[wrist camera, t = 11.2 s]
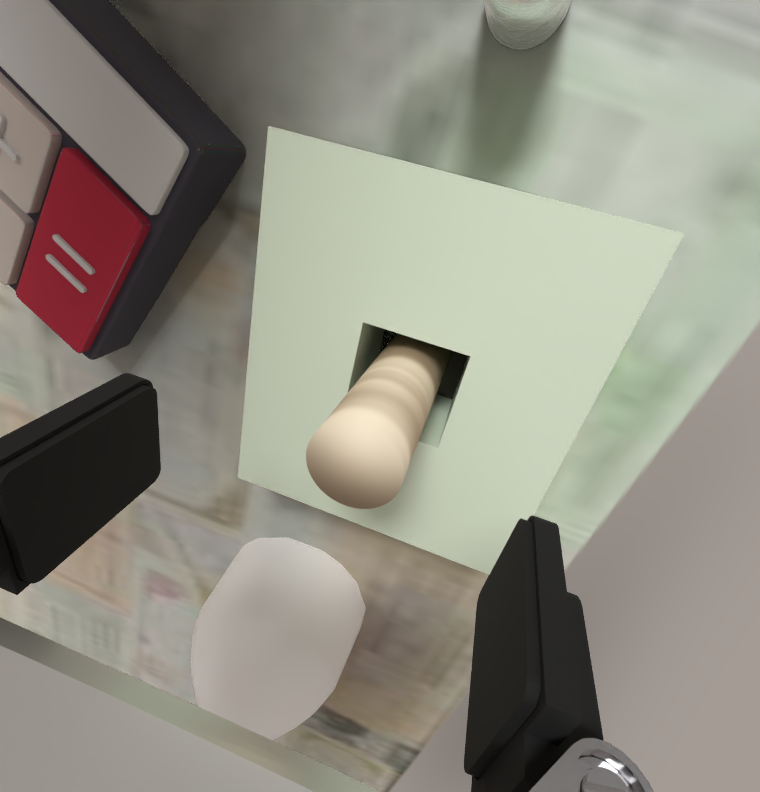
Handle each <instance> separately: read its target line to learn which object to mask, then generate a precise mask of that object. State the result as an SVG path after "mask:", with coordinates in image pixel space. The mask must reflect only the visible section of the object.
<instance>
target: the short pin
mask: <svg viewBox="0 0 760 792" xmlns="http://www.w3.org/2000/svg"><path fill="white" fill-rule="evenodd" d="M570 4H571V0H484V6H485V12H486V18H487V23H488V26H489V28H490V31H491V32H492V34H493V36H494V37H495V39H496V40H497V41H498V42H499V43H501V44H502V45H504V46H506V47H508V48H511V49H515V50H525V49H530V48H533V47H535V46H538V45H540V44H541V43H543V42H544V41H546V40H547V39H548V38H549V37H551V36H552V35H553V33H554V32H555V31H556V30H557V29H558V28H559V26H560V25H561V23H562V22H563V20H564V18H565V16H566V14H567V12H568V9H569V7H570Z"/></svg>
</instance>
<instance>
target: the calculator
mask: <svg viewBox="0 0 760 792" xmlns="http://www.w3.org/2000/svg"><path fill="white" fill-rule="evenodd" d="M245 156H246V150H245V147H244V145H243V144H242V143H241V141H240V140H239V139H238V138H237V137H236V136H235V135H234V134H233V133H232V132H231V131H230V130H229V129H228V127H227V126H226V125H225V124H224V123H223V122H222V121H221V120H220V119H219V118H218V117H217V116H216V115H215V114H214V113H213V111H212V110H211V109H210V108H209V107H208V106H207V105H206V104H205V103H204V102H203V101H202V100H201V99H200V98H199V96H198V95H197V94H196V93H195V92H194V91H193V90H192V89H191V88H190V87H189V86H188V85H187V84H186V83H185V82H184V80H183V79H182V78H181V77H180V76H179V75H178V74H177V73H176V72H175V71H174V70H173V69H172V68H171V67H170V66H169V64H168V63H167V62H166V61H165V60H164V59H163V58H162V57H161V56H160V55H159V54H158V53H157V52H156V51H155V50H154V48H153V47H152V46H151V45H150V44H149V43H148V42H147V41H146V40H145V39H144V38H143V37H142V36H141V35H140V34H139V32H138V31H137V30H136V29H135V28H134V27H133V26H132V25H131V24H130V23H129V22H128V21H127V20H126V19H125V18H124V16H123V15H122V14H121V13H120V12H119V11H118V10H117V9H116V8H115V7H114V6H113V5H112V4H111V3H110V2H109V0H0V282H2V283H3V284H5V285H10V286H11V287H12V288H13V289H14V290H15V291H16V295H17V297H18V298H19V299H20V300H21V301H22V302H23V303H24V304H25V305H26V306H27V307H28V308H30V309H31V310H32V311H33V312H34V313H35V314H36V315H37V316H38V317H39V318H40V319H41V320H42V321H44V322H45V323H46V324H47V325H48V326H49V327H50V328H51V329H52V330H53V331H54V332H55V333H57V334H58V335H59V336H60V337H61V338H62V339H63V340H64V341H65V342H66V343H67V344H68V345H70V346H71V347H72V348H73V349H74V350H75V351H76V352H78V353H83V354H84V355H85V356H87V357H88V358H89V359H97V358H99V357H102V356H104V355H106V354H109V353H111V352H113V351H115V350H118V349H120V348H122V347H125V346H127V345H128V344H129V343H130V342H131V340H132V338H133V337H134V335H135V334H136V332H137V330H138V329H139V327H140V326H141V324H142V322H143V321H144V319H145V318H146V316H147V314H148V313H149V311H150V310H151V308H152V306H153V305H154V303H155V302H156V300H157V298H158V297H159V295H160V294H161V292H162V290H163V289H164V287H165V285H166V284H167V282H168V280H169V279H170V277H171V275H172V273H173V272H174V270H175V268H176V266H177V265H178V263H179V261H180V260H181V258H182V256H183V254H184V253H185V251H186V249H187V248H188V246H189V244H190V242H191V241H192V239H193V237H194V236H195V234H196V232H197V230H198V229H199V227H200V226H201V225H202V224H203V223H204V222H205V221H206V220H207V218H208V217H209V215H210V214H211V212H212V211H213V209H214V207H215V206H216V204H217V203H218V201H219V199H220V198H221V196H222V195H223V193H224V191H225V190H226V188H227V187H228V185H229V183H230V182H231V180H232V179H233V177H234V176H235V174H236V172H237V171H238V169H239V168H240V166H241V164H242V163H243V161H244V159H245Z"/></svg>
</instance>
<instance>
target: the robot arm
mask: <svg viewBox="0 0 760 792" xmlns="http://www.w3.org/2000/svg"><path fill="white" fill-rule="evenodd" d="M160 470H161V463H160V444H159V425H158V406H157V392H156V390H155V389H154V388H153V385H152V383H151V382H150V381H149V380H146V379H144V378H141V377H138V376H135V375H132V374H129V373H125V374H122V375H120V376H118V377H116V378H114V379H112V380H110V381H109V382H107V383H105V384H103V385H101V386H99V387H97V388H95V389H93V390H91V391H89V392H87V393H86V394H84V395H82V396H80V397H78V398H76V399H74V400H72V401H70V402H68V403H66V404H65V405H63V406H61V407H59V408H57V409H55V410H53V411H51V412H49V413H47V414H45V415H43V416H42V417H40V418H38V419H36V420H34V421H32V422H30V423H28V424H26V425H24V426H22V427H20V428H19V429H17V430H15V431H13V432H11V433H9V434H7V435H5V436H3V437H1V438H0V588H2V589H5V590H7V591H9V592H12V593H14V594H16V595H18V594H19V593H20V592H21V591H22V590H24V589H25V588H26V587H27V586H28V585H29V584H31V583H36V582H38V581H40V580H42V579H43V578H44V577H46V576H47V575H48V574H49V573H50V572H51V571H52V570H54V569H55V568H56V567H57V566H58V565H59V564H61V563H62V562H63V561H64V560H65V559H66V558H67V557H69V556H70V555H71V554H72V553H73V552H74V551H75V550H77V549H78V548H79V547H80V546H81V545H82V544H84V543H85V542H86V541H87V540H88V539H89V538H90V537H92V536H93V535H94V534H95V533H96V532H97V531H98V530H100V529H101V528H102V527H103V526H104V525H105V524H107V523H108V522H109V521H110V520H111V519H112V518H113V517H115V516H116V515H117V514H118V513H119V512H120V511H122V510H123V509H124V508H125V507H126V506H127V505H128V504H130V503H131V502H132V501H133V500H134V499H135V498H136V497H138V496H139V495H140V494H141V493H142V492H143V491H145V490H146V489H147V488H148V487H149V486H150V485H151V484H153V483H154V482H155V481H156V479H157V478H158V476H159V474H160ZM464 770H465V772H466V773H468V774H470V775H472V788H471V792H653V789H652V787H651V785H650V783H649V782H648V780H647V779H646V777H645V776H644V775H643V773H642V772H641V771H640V769H639V768H638V767H637V765H636V764H635V763H634V762H633V761H632V760H631V759H630V758H629V757H628V756H626V754H624V753H623V752H622V751H621V750H619V749H618V748H616V747H615V746H613V745H612V744H610V743H608V742H606V741H604V740H603V735H602V728H601V722H600V715H599V709H598V703H597V696H596V690H595V684H594V678H593V671H592V665H591V659H590V652H589V647H588V640H587V634H586V628H585V621H584V615H583V609H582V604H581V601H580V599H579V597H578V596H576V595H574V594H571V593H568V592H567V589H566V582H565V574H564V566H563V558H562V550H561V543H560V535H559V528H558V525H557V524H555V523H553V522H550V521H547V520H544V519H541V518H538V517H535V516H530V517H529V518H528V520H525V519H522V518H521V519H519V521H518V522H517V524H516V526H515V528H514V530H513V531H512V533H511V535H510V537H509V539H508V541H507V543H506V545H505V546H504V548H503V550H502V552H501V554H500V556H499V558H498V560H497V561H496V563H495V565H494V567H493V569H492V571H491V573H490V575H489V576H488V578H487V580H486V582H485V584H484V586H483V588H482V590H481V592H480V595H479V598H478V602H477V610H476V622H475V635H474V647H473V659H472V671H471V683H470V695H469V708H468V720H467V733H466V744H465V756H464ZM0 792H381V791H379V790H377V789H375V788H373V787H370V786H368V785H366V784H364V783H362V782H360V781H358V780H356V779H354V778H352V777H350V776H348V775H346V774H344V773H341V772H339V771H337V770H335V769H333V768H331V767H329V766H327V765H325V764H322V763H320V762H318V761H316V760H314V759H311V758H309V757H307V756H305V755H303V754H301V753H298V752H296V751H294V750H292V749H290V748H288V747H285V746H283V745H281V744H279V743H277V742H274V741H272V740H270V739H268V738H266V737H264V736H261V735H259V734H257V733H255V732H253V731H250V730H248V729H246V728H244V727H242V726H240V725H237V724H235V723H233V722H231V721H229V720H226V719H224V718H222V717H220V716H218V715H216V714H213V713H211V712H209V711H207V710H205V709H202V708H200V707H198V706H196V705H194V704H191V703H189V702H187V701H185V700H183V699H180V698H178V697H176V696H174V695H171V694H169V693H167V692H165V691H163V690H160V689H158V688H156V687H154V686H152V685H149V684H147V683H145V682H143V681H141V680H138V679H136V678H134V677H132V676H129V675H127V674H125V673H123V672H121V671H118V670H116V669H114V668H112V667H110V666H107V665H105V664H103V663H101V662H98V661H96V660H94V659H92V658H90V657H87V656H85V655H83V654H81V653H79V652H76V651H74V650H72V649H70V648H67V647H65V646H63V645H61V644H58V643H56V642H54V641H52V640H49V639H47V638H45V637H43V636H40V635H38V634H36V633H34V632H31V631H29V630H27V629H25V628H22V627H20V626H18V625H16V624H13V623H11V622H9V621H7V620H4V619H2V618H0Z"/></svg>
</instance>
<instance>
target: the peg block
mask: <svg viewBox="0 0 760 792" xmlns="http://www.w3.org/2000/svg"><path fill="white" fill-rule="evenodd" d="M684 234H685V233H681V232H677V231H673V230H669V229H666V228H662V227H658V226H654V225H650V224H646V223H642V222H639V221H635V220H631V219H627V218H623V217H619V216H615V215H611V214H608V213H604V212H600V211H596V210H592V209H588V208H584V207H581V206H577V205H573V204H569V203H565V202H561V201H557V200H553V199H550V198H546V197H542V196H538V195H534V194H530V193H526V192H523V191H519V190H515V189H511V188H507V187H503V186H499V185H496V184H492V183H488V182H484V181H480V180H476V179H472V178H468V177H465V176H461V175H457V174H453V173H449V172H445V171H441V170H438V169H434V168H430V167H426V166H422V165H418V164H414V163H410V162H407V161H403V160H399V159H395V158H391V157H387V156H383V155H380V154H376V153H372V152H368V151H364V150H360V149H356V148H352V147H349V146H345V145H341V144H337V143H333V142H329V141H325V140H322V139H318V138H314V137H310V136H306V135H302V134H298V133H295V132H291V131H287V130H283V129H279V128H275V127H271V126H268V132H267V144H266V155H265V167H264V178H263V190H262V201H261V213H260V225H259V236H258V248H257V259H256V271H255V282H254V294H253V305H252V317H251V328H250V340H249V352H248V363H247V375H246V386H245V398H244V409H243V421H242V432H241V444H240V455H239V467H238V478H240V479H243V480H245V481H248V482H250V483H253V484H255V485H258V486H261V487H263V488H266V489H268V490H271V491H274V492H276V493H279V494H281V495H284V496H286V497H289V498H292V499H294V500H297V501H299V502H302V503H305V504H307V505H310V506H312V507H315V508H317V509H320V510H323V511H325V512H328V513H330V514H333V515H336V516H338V517H341V518H343V519H346V520H348V521H351V522H354V523H356V524H359V525H361V526H364V527H367V528H369V529H372V530H374V531H377V532H379V533H382V534H385V535H387V536H390V537H392V538H395V539H398V540H400V541H403V542H405V543H408V544H410V545H413V546H416V547H418V548H421V549H423V550H426V551H429V552H431V553H434V554H436V555H439V556H441V557H444V558H447V559H449V560H452V561H454V562H457V563H459V564H462V565H465V566H467V567H470V568H472V569H475V570H478V571H480V572H483V573H485V574H488V575H490V573H491V571H492V569H493V567H494V565H495V563H496V561H497V560H498V558H499V556H500V554H501V552H502V550H503V548H504V546H505V545H506V543H507V541H508V539H509V537H510V535H511V533H512V531H513V530H514V528H515V526H516V524H517V522H518V521H519V519H521V518H522V519H525V520H528V518H529V517H530V516H534V514H535V512H536V510H537V508H538V506H539V504H540V503H541V501H542V499H543V497H544V495H545V493H546V491H547V489H548V488H549V486H550V484H551V482H552V480H553V478H554V476H555V475H556V473H557V471H558V469H559V467H560V465H561V463H562V461H563V460H564V458H565V456H566V454H567V452H568V450H569V448H570V447H571V445H572V443H573V441H574V439H575V437H576V435H577V433H578V432H579V430H580V428H581V426H582V424H583V422H584V420H585V419H586V417H587V415H588V413H589V411H590V409H591V407H592V405H593V404H594V402H595V400H596V398H597V396H598V394H599V392H600V391H601V389H602V387H603V385H604V383H605V381H606V379H607V377H608V376H609V374H610V372H611V370H612V368H613V366H614V364H615V362H616V361H617V359H618V357H619V355H620V353H621V351H622V349H623V348H624V346H625V344H626V342H627V340H628V338H629V336H630V334H631V333H632V331H633V329H634V327H635V325H636V323H637V321H638V320H639V318H640V316H641V314H642V312H643V310H644V308H645V306H646V305H647V303H648V301H649V299H650V297H651V295H652V293H653V292H654V290H655V288H656V286H657V284H658V282H659V280H660V278H661V277H662V275H663V273H664V271H665V269H666V267H667V265H668V264H669V262H670V260H671V258H672V256H673V254H674V252H675V250H676V249H677V247H678V245H679V243H680V241H681V239H682V237H683V236H684ZM385 329H386V330H389V331H392V332H395V333H399V334H402V335H405V336H408V337H411V338H414V339H417V340H421V341H424V342H427V343H430V344H433V345H436V346H439V347H443V348H446V349H449V350H452V351H455V352H458V353H462V354H465V355H468V356H467V359H466V362H465V365H464V368H463V371H462V373H461V376H460V379H459V382H458V385H457V388H456V390H455V393H454V396H453V399H450V398H447V397H444V396H441V395H438V394H436V396H435V399H434V402H433V404H432V407H431V410H430V412H429V415H428V417H427V420H426V423H425V425H424V428H423V431H422V433H421V436H420V438H419V441H418V444H417V446H416V449H415V452H414V454H413V457H412V460H411V462H410V465H409V467H408V470H407V473H406V475H405V478H404V481H403V483H402V486H401V488H400V490H399V492H398V494H397V495H396V496H395V497H394V498H393V499H392V500H391V501H390V502H388V503H387V504H385V505H382V506H380V507H376V508H371V509H358V508H352V507H348V506H345V505H343V504H340V503H338V502H336V501H335V500H333V499H331V498H330V497H329V496H327V495H326V494H325V493H324V492H323V491H322V490H321V489H320V488H319V487H318V486H317V485H316V483H315V482H314V481H313V479H312V477H311V475H310V473H309V470H308V467H307V463H306V450H307V446H308V443H309V441H310V439H311V438H312V436H313V435H314V434H315V432H316V431H317V430H318V429H319V428H320V426H321V425H322V424H323V423H324V421H325V420H326V419H327V418H328V417H329V415H330V414H331V413H332V412H333V410H334V409H335V408H336V407H337V406H338V404H339V403H340V402H341V401H342V399H343V398H344V397H345V396H346V395H347V393H348V392H349V391H350V390H351V388H352V387H353V386H354V385H355V384H356V382H357V381H358V380H359V379H360V377H361V376H362V375H363V374H364V373H365V371H366V370H367V369H368V368H369V366H370V365H371V364H372V363H373V362H374V360H375V359H376V358H377V357H378V355H379V353H380V349H381V345H382V341H383V337H384V333H385Z"/></svg>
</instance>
